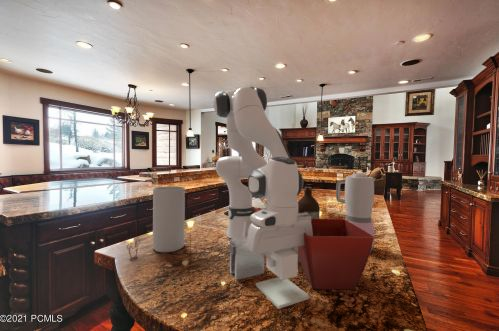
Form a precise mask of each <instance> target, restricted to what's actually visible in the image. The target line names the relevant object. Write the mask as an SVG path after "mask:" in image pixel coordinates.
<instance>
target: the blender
mask: <svg viewBox="0 0 499 331" xmlns="http://www.w3.org/2000/svg"><path fill="white" fill-rule="evenodd" d="M376 179H377V178H374V177H372V176H367V173H352V175H347V176H346V177H345V179H339V180H338V181H337V182H336V187H335V190H336V191H335V198H336V199H335V200H336V201H337V202H338V203H341V204H345V212H346V215H345V218H344V219H345V220H347V221H349V222H351V223H352V224H354V225H356V226H357V227H359V228H361V229H362V230H364V231H366V232H367V233H369V234H371V235H372V236H374V238H373V243H372V247H371V251H370V254H371V253H372V251H373V250H374V249H375V224H374V222H373V220H372V212H373V207H374V201H375V180H376ZM342 184H344V198H341V185H342Z"/></svg>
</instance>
